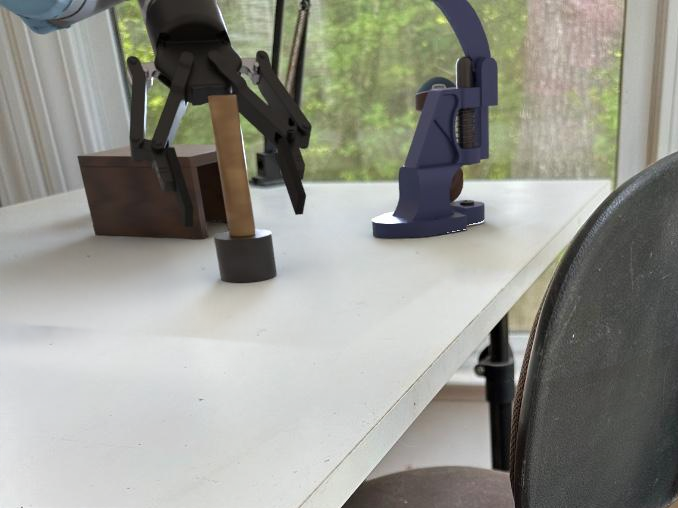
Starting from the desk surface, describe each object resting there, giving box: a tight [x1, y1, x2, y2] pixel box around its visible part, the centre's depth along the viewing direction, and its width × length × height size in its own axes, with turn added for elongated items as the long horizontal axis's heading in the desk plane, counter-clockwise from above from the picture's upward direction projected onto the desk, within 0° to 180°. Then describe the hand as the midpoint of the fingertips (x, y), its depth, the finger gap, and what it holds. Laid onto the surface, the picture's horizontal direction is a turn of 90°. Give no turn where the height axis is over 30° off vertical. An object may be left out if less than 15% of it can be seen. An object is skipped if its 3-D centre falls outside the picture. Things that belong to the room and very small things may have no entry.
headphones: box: [414, 76, 464, 203], centre depth 121 cm, size 6×15×22 cm
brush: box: [208, 95, 278, 284], centre depth 87 cm, size 6×6×16 cm
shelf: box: [76, 144, 227, 240], centre depth 113 cm, size 16×12×9 cm
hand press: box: [371, 0, 499, 239], centre depth 102 cm, size 19×9×28 cm, turn 125°
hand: (246, 211), depth 85 cm, fingers open, 10 cm apart
